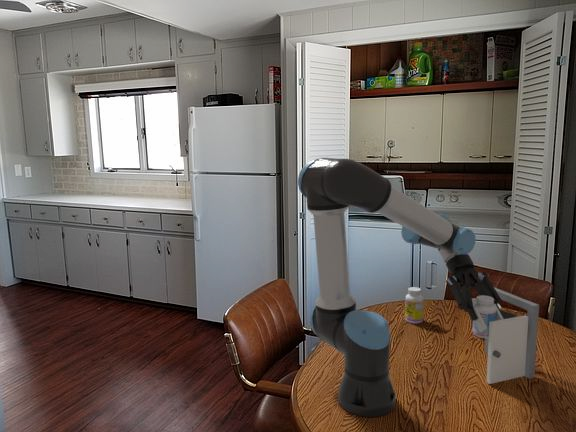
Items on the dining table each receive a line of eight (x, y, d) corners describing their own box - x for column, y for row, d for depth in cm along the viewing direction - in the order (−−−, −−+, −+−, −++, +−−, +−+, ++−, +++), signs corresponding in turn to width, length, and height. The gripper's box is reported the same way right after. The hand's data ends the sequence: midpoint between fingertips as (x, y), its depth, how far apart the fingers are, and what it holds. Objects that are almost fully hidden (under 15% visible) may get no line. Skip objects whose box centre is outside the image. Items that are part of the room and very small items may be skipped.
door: (521, 373, 130) (525, 315, 128) (528, 377, 128) (532, 318, 125) (486, 381, 127) (489, 321, 124) (492, 386, 124) (496, 325, 121)
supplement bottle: (401, 318, 175) (402, 287, 172) (416, 316, 176) (417, 285, 174) (411, 325, 168) (411, 292, 166) (426, 322, 170) (427, 290, 168)
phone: (476, 317, 172) (499, 309, 180) (476, 320, 172) (499, 312, 180) (495, 324, 165) (518, 315, 173) (495, 327, 165) (518, 318, 173)
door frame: (528, 378, 129) (533, 306, 125) (484, 352, 145) (487, 287, 142) (534, 377, 129) (539, 305, 126) (489, 351, 146) (493, 286, 142)
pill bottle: (491, 330, 133) (492, 294, 131) (497, 339, 127) (499, 301, 125) (469, 330, 134) (471, 294, 132) (475, 338, 128) (477, 301, 126)
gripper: (475, 261, 145) (512, 328, 132) (425, 268, 139) (458, 338, 126) (488, 249, 139) (527, 318, 126) (436, 255, 133) (472, 328, 120)
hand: (493, 328), depth 126 cm, fingers closed on pill bottle, 6 cm apart
